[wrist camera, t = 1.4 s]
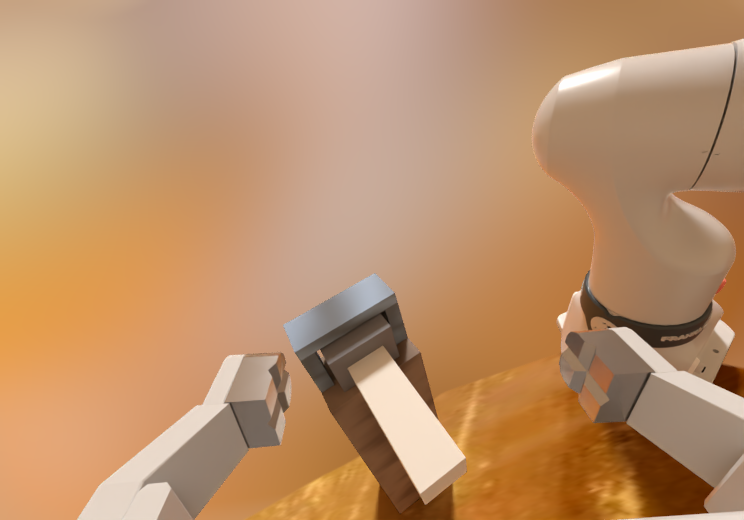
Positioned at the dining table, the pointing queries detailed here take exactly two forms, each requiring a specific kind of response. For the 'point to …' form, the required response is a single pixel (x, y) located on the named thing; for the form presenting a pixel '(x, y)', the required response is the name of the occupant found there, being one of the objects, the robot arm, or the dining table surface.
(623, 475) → the dining table surface
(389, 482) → the post
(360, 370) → the cream bar
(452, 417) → the dining table surface
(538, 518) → the dining table surface
